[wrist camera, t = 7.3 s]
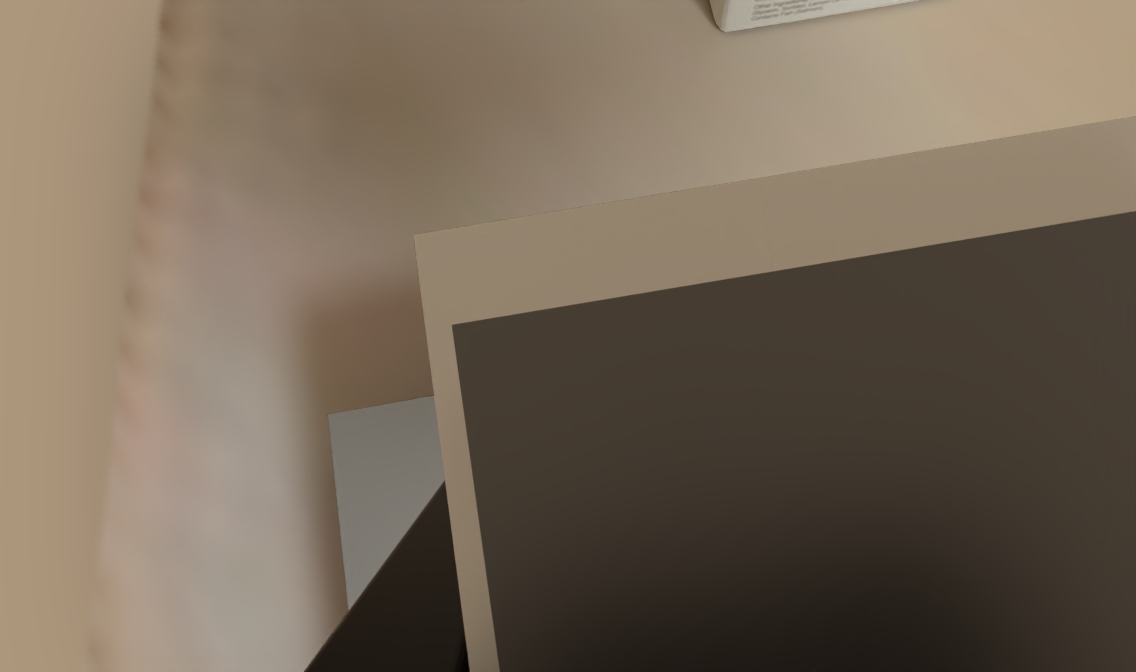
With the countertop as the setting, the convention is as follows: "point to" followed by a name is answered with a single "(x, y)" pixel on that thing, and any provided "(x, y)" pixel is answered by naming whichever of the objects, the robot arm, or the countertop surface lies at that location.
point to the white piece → (801, 418)
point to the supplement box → (783, 11)
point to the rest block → (382, 480)
